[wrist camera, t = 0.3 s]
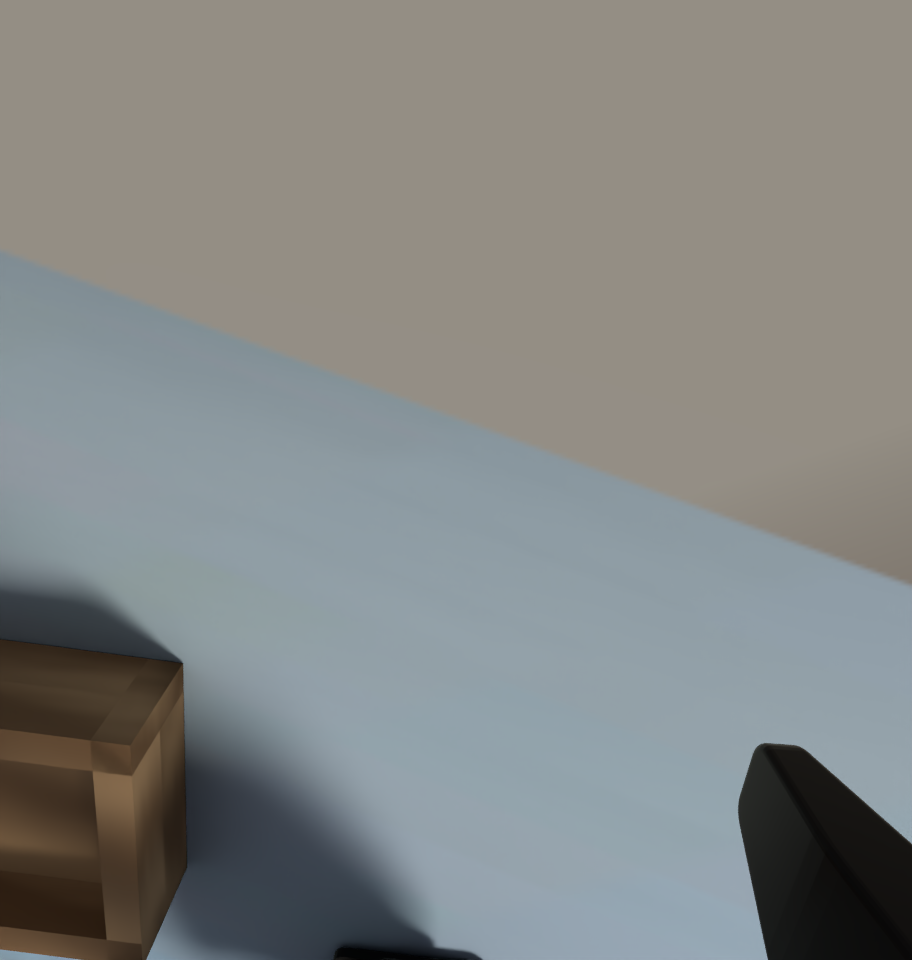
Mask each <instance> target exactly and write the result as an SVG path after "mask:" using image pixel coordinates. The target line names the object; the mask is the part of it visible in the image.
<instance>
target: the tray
mask: <svg viewBox="0 0 912 960" xmlns="http://www.w3.org/2000/svg"><path fill="white" fill-rule="evenodd" d="M186 868H187V844H186V794H185V743H184V692H183V663H176V662H169V661H161V660H154V659H146V658H138V657H131V656H123V655H116V654H108V653H100V652H93V651H85V650H77V649H70V648H62V647H55V646H47V645H39V644H32V643H24V642H17V641H9V640H1V639H0V949H3V950H10V951H18V952H26V953H34V954H42V955H50V956H58V957H66V958H74V959H82V960H146V959H147V956H148V954H149V952H150V950H151V947H152V945H153V943H154V941H155V938H156V936H157V934H158V932H159V929H160V927H161V925H162V923H163V920H164V918H165V916H166V914H167V911H168V909H169V907H170V904H171V902H172V900H173V898H174V895H175V893H176V891H177V889H178V886H179V884H180V882H181V880H182V877H183V875H184V873H185V871H186Z"/></svg>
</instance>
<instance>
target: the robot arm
mask: <svg viewBox="0 0 912 960" xmlns="http://www.w3.org/2000/svg"><path fill="white" fill-rule="evenodd" d="M738 815H739V823H740V829H741V833H742V838H743V843H744V848H745V853H746V857H747V862H748V867H749V872H750V876H751V881H752V886H753V891H754V896H755V900H756V905H757V910H758V915H759V920H760V924H761V929H762V934H763V939H764V944H765V948H766V953H767V958H768V960H912V844H911V843H910V842H909V841H908V840H907V839H906V838H905V837H903V836H902V835H901V834H900V833H899V832H898V831H897V830H895V829H894V828H893V827H892V826H891V825H890V824H889V823H888V822H886V821H885V820H884V819H883V818H882V817H881V816H880V815H879V814H877V813H876V812H875V811H874V810H873V809H872V808H871V807H869V806H868V805H867V804H866V803H865V802H864V801H863V800H862V799H860V798H859V797H858V796H857V795H856V794H855V793H854V792H853V791H851V790H850V789H849V788H848V787H847V786H846V785H845V784H843V783H842V782H841V781H840V780H839V779H838V778H837V777H836V776H834V775H833V774H832V773H831V772H830V771H829V770H828V769H827V768H825V767H824V766H823V765H822V764H821V763H820V762H819V761H817V760H816V759H815V758H814V757H813V756H812V755H811V754H810V753H808V752H807V751H806V750H804V749H803V748H801V747H799V746H795V745H785V744H771V743H764V744H760V745H759V746H758V747H757V748H756V749H755V751H754V753H753V755H752V759H751V762H750V765H749V768H748V772H747V775H746V778H745V781H744V784H743V788H742V791H741V794H740V798H739V804H738ZM333 960H441V959H433V958H425V957H418V956H410V955H402V954H394V953H386V952H378V951H370V950H363V949H355V948H339V949H337V950H336V951H335V954H334V958H333Z"/></svg>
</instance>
